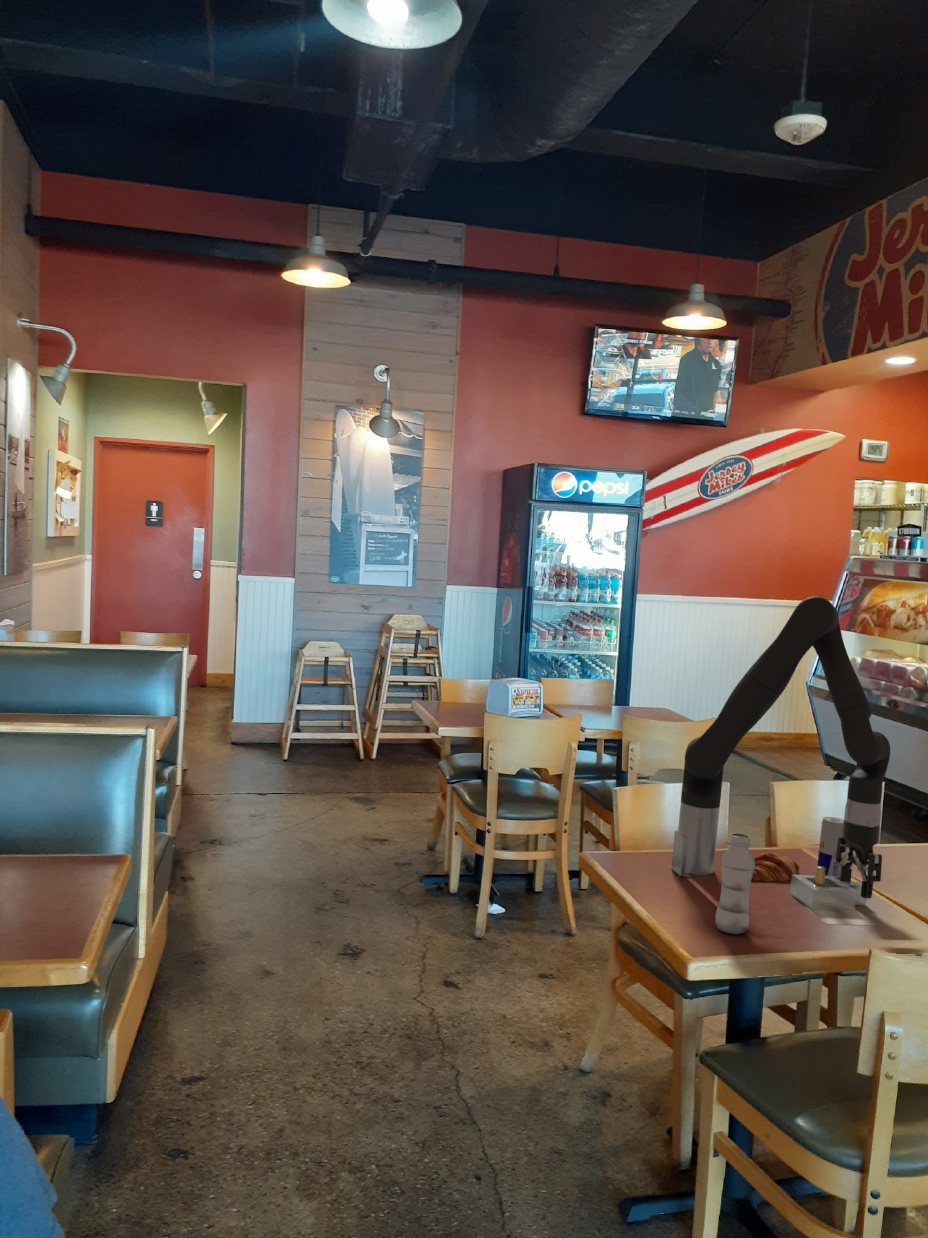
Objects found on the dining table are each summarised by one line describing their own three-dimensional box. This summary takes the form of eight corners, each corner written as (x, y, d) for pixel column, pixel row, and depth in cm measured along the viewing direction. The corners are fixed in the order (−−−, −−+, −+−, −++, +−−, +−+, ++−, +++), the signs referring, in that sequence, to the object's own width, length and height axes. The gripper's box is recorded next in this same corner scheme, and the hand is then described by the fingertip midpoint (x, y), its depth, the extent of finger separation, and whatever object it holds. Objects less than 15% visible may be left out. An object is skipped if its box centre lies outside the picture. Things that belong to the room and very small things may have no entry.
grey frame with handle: (811, 909, 203) (813, 889, 203) (790, 893, 213) (791, 874, 213) (875, 911, 205) (877, 891, 205) (851, 896, 215) (853, 876, 215)
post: (815, 904, 208) (819, 868, 207) (811, 900, 210) (814, 865, 209) (823, 904, 208) (827, 869, 207) (819, 901, 210) (822, 866, 209)
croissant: (784, 882, 236) (774, 851, 239) (819, 875, 229) (808, 842, 232) (737, 895, 223) (727, 861, 225) (772, 887, 216) (761, 852, 218)
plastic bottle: (709, 925, 193) (718, 830, 192) (740, 926, 193) (750, 832, 192) (720, 937, 186) (730, 839, 185) (753, 939, 187) (763, 841, 186)
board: (820, 930, 195) (820, 924, 194) (778, 897, 213) (778, 892, 213) (891, 933, 197) (891, 927, 197) (843, 900, 215) (843, 894, 215)
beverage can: (836, 876, 233) (842, 817, 233) (843, 883, 228) (849, 823, 227) (813, 873, 234) (819, 815, 233) (819, 881, 228) (826, 821, 228)
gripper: (829, 811, 215) (823, 880, 216) (864, 828, 201) (857, 902, 202) (860, 812, 216) (853, 880, 217) (896, 829, 202) (889, 902, 203)
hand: (855, 891), depth 210 cm, fingers open, 8 cm apart
